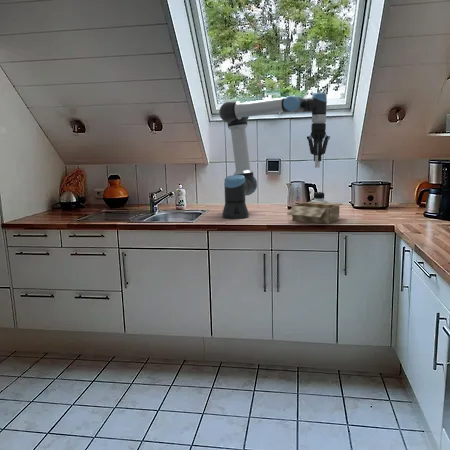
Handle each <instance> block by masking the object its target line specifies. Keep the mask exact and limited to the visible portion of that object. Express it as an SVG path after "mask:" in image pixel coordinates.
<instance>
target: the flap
mask: <svg viewBox="0 0 450 450" xmlns="http://www.w3.org/2000/svg"><path fill="white" fill-rule="evenodd" d="M325 210H326V209H324V208H312V207H300V206H293V207H292V206H291V208H290V210H288V212H287V214H286V215H288V216H292V215H297V216H307V217H317V218H320V217H321V216H322V214H323V213H324V211H325Z"/></svg>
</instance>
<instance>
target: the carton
mask: <svg viewBox="0 0 450 450" xmlns="http://www.w3.org/2000/svg"><path fill="white" fill-rule="evenodd" d="M343 204H344V203H338V202H337V203H336V202H328V201H327V202H313V201H311V200H310V201H308V202H300V203H297V204H292V205H291V208H292V207H293V206H300V207H312V208H324V209H326V210H325V211H324V213H323V214H322V216H321V217H320V218H317V217H307V216H297V215H291V218H292V221H296V222H297V221H298V222H304V223H306V222H307V223H315V224H323V225H324V224H325V225H329V224H332V223H335V222H338V221H339V219H340V206H342V205H343Z"/></svg>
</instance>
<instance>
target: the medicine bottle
mask: <svg viewBox="0 0 450 450" xmlns="http://www.w3.org/2000/svg"><path fill="white" fill-rule="evenodd" d="M311 201H313V202H327V203H328V201H327V200H325V193H324V192H321V191H317V192H314V193H313V199H312V200H310V202H311Z"/></svg>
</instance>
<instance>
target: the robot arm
mask: <svg viewBox="0 0 450 450" xmlns="http://www.w3.org/2000/svg"><path fill="white" fill-rule="evenodd" d="M327 97H328V96H327V93H325V92H314V93H312V95H311V97H299V96H296V95H288V96H286V97H278V98H277V97H275V98H270V99H262V100H254V101H245V102H240V101H227V102H224V103H222V105H221V106H220V107H219V112H218V113H219V117H220V119H221V120H222V121H223V122H225V123H226V124H227V128H228V129H229V130H230V134H231V141H232V143H231V144H232V150H233V159H234V165H235V167H234V168H235V172H234V173H233V175H229V176H226V177H225V178H224V182H223V185H224V206H223V210H222V215H221V217H222V218H223V219H231V220H236V219H237V220H239V219H245V218H249V210H248V207H247V205H246V196H250V195H252V194H254V193H255V192H256V190H257V188H258V180H257V178H256V177H255V175H254V171H253V170H251V163H250V156H249V149H248V147H249V146H248V140H247V139H248V138H247V131H246V128H247V127H248V119H249V117H255V116H264V115H272V114H280V113H290V112H291V113H295V114H296V113H311V130H310V131H311V132H310V134H309V135H308V136H306V140H307V141H308V146H309V151H310V153H309V154H311V155H313V162H314V169H315V168H316V169H317V168H320V166H321V162H322V156H323V155H325V154H326V151H327V147H328V143H329V140H330V139H331V136H330V135H328V134H327V133H326V130H327V129H326V128H327V124H326V122H327V103H328V101H327Z"/></svg>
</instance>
